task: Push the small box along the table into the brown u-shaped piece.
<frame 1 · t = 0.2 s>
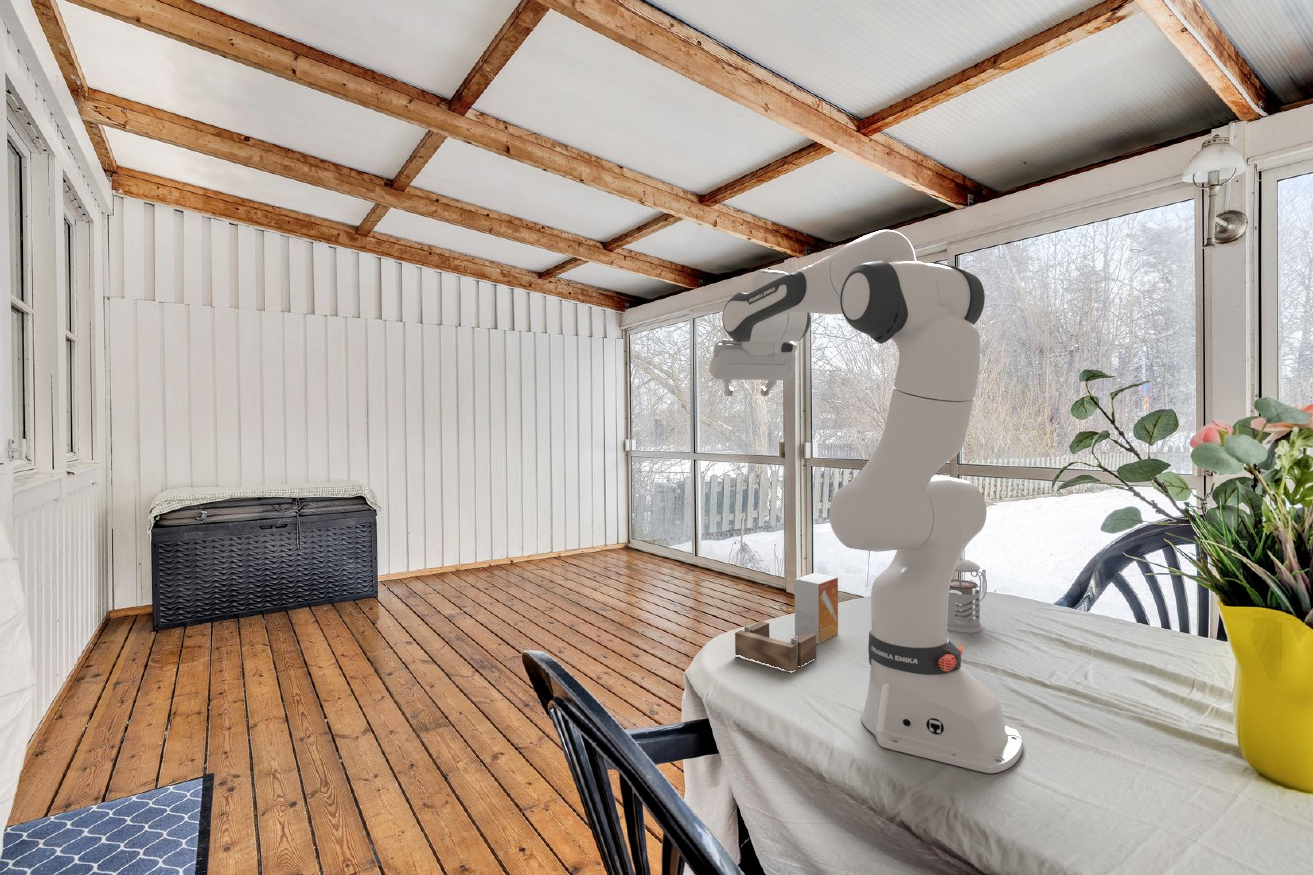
hand: (746, 395, 152), 54 cm above the table, tool tilted 30°, fingers open, 8 cm apart
brown u-shaped piece: (780, 655, 130), on the table
small box: (816, 637, 141), on the table
french press: (963, 625, 147), on the table
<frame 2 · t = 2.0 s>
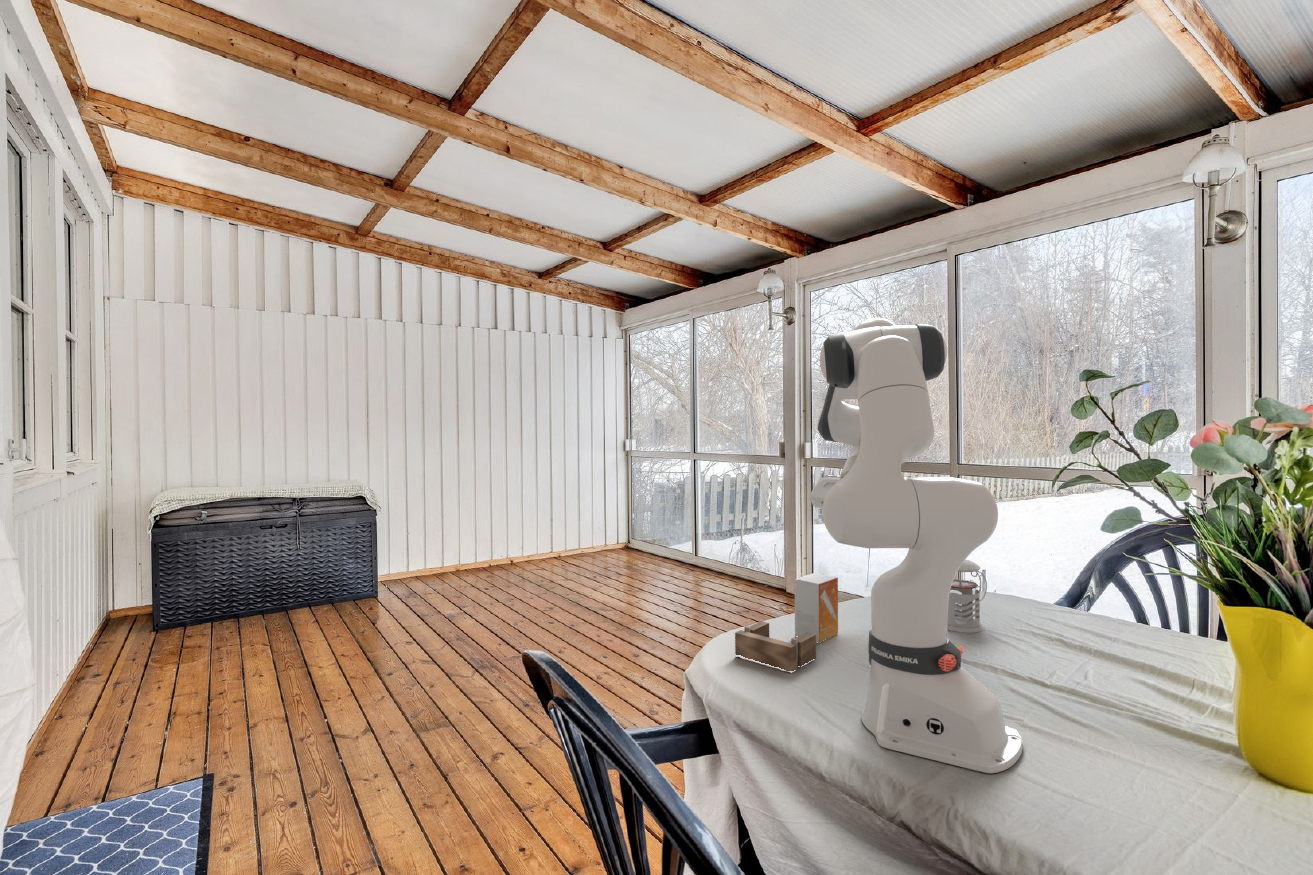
hand: (841, 522, 149), 24 cm above the table, tool tilted 45°, fingers open, 7 cm apart
nothing on the table moved.
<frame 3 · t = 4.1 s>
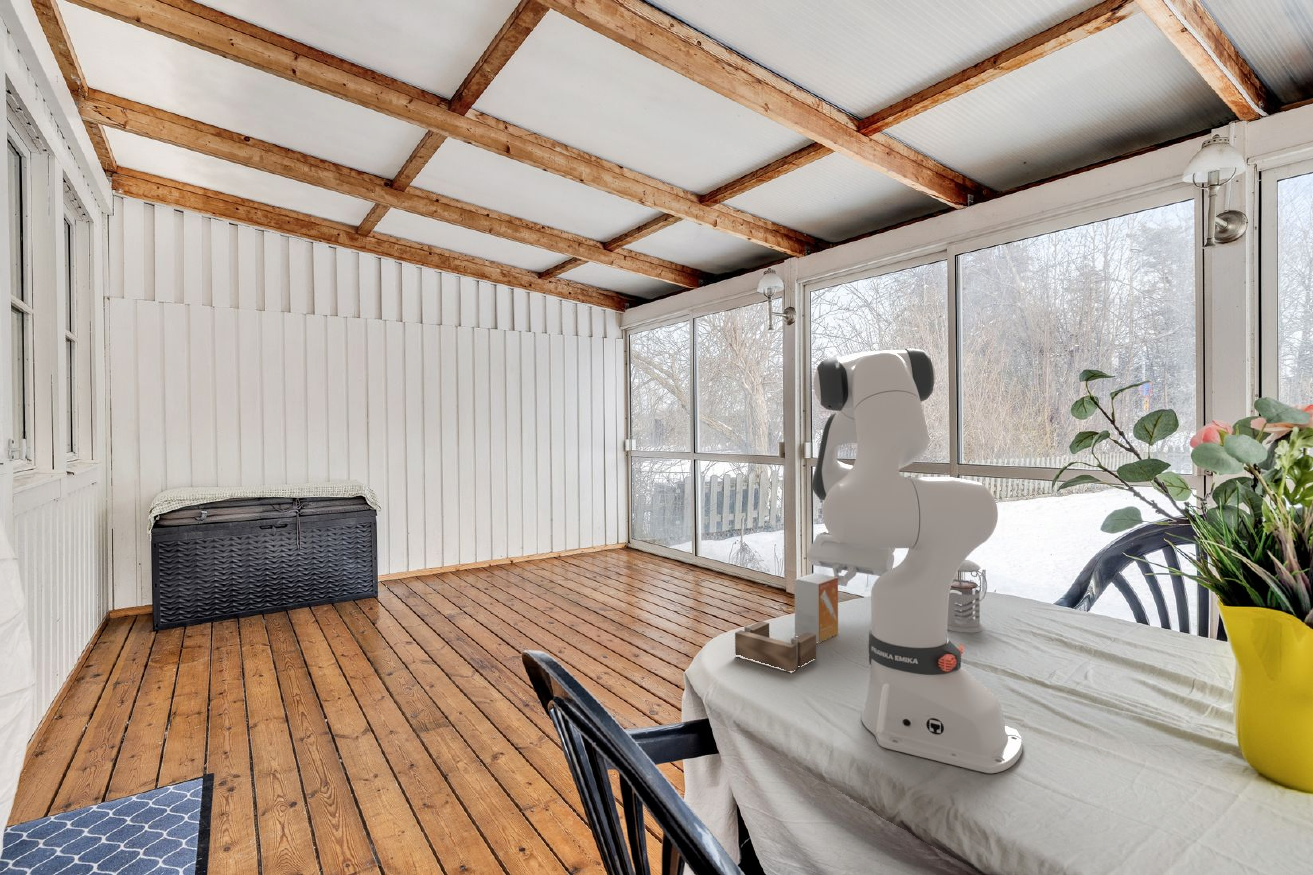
hand: (838, 584, 149), 9 cm above the table, tool tilted 45°, fingers closed
nothing on the table moved.
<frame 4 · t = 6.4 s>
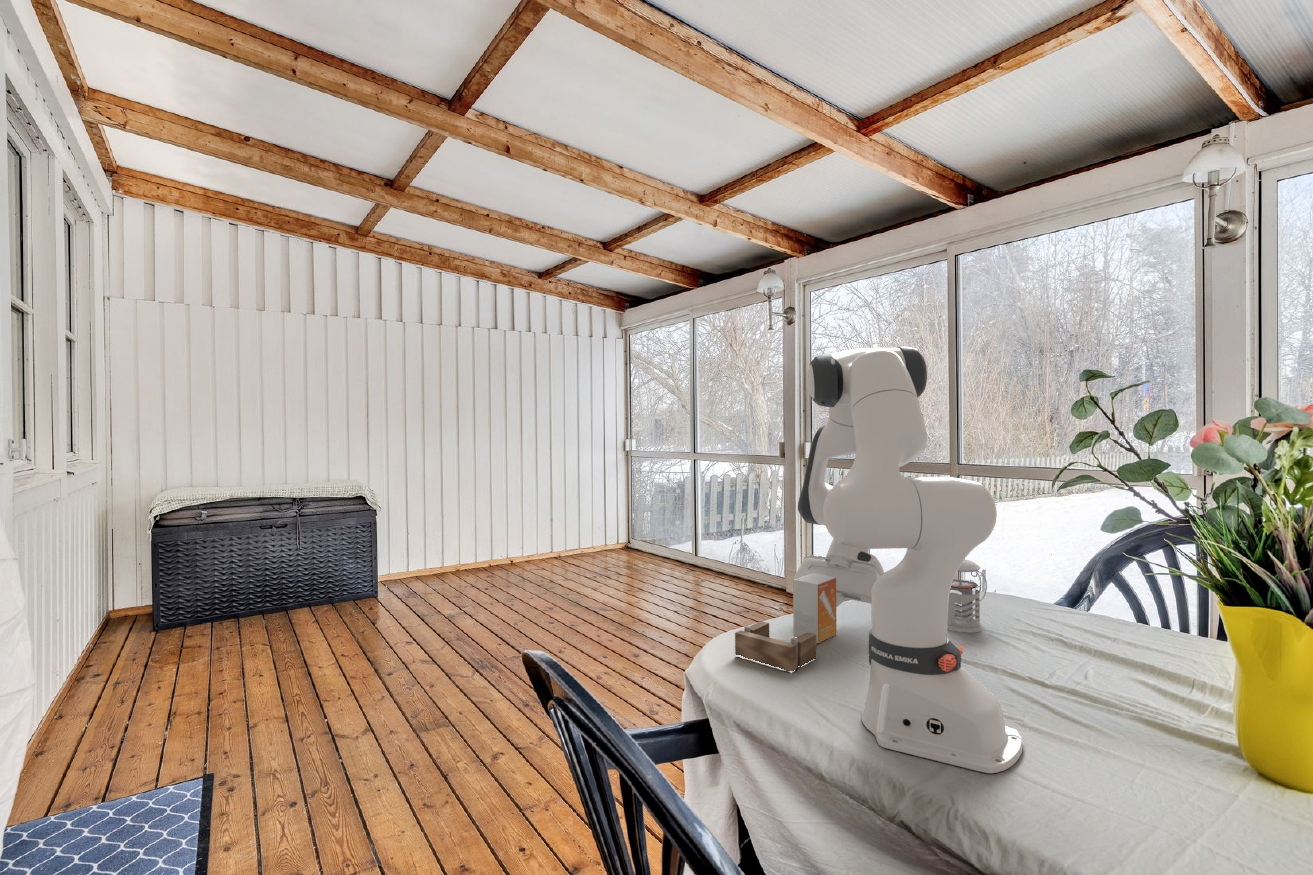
hand: (825, 610, 144), 5 cm above the table, tool tilted 45°, fingers closed, pressing on small box
small box: (815, 637, 141), on the table, touching gripper
everything else where it was.
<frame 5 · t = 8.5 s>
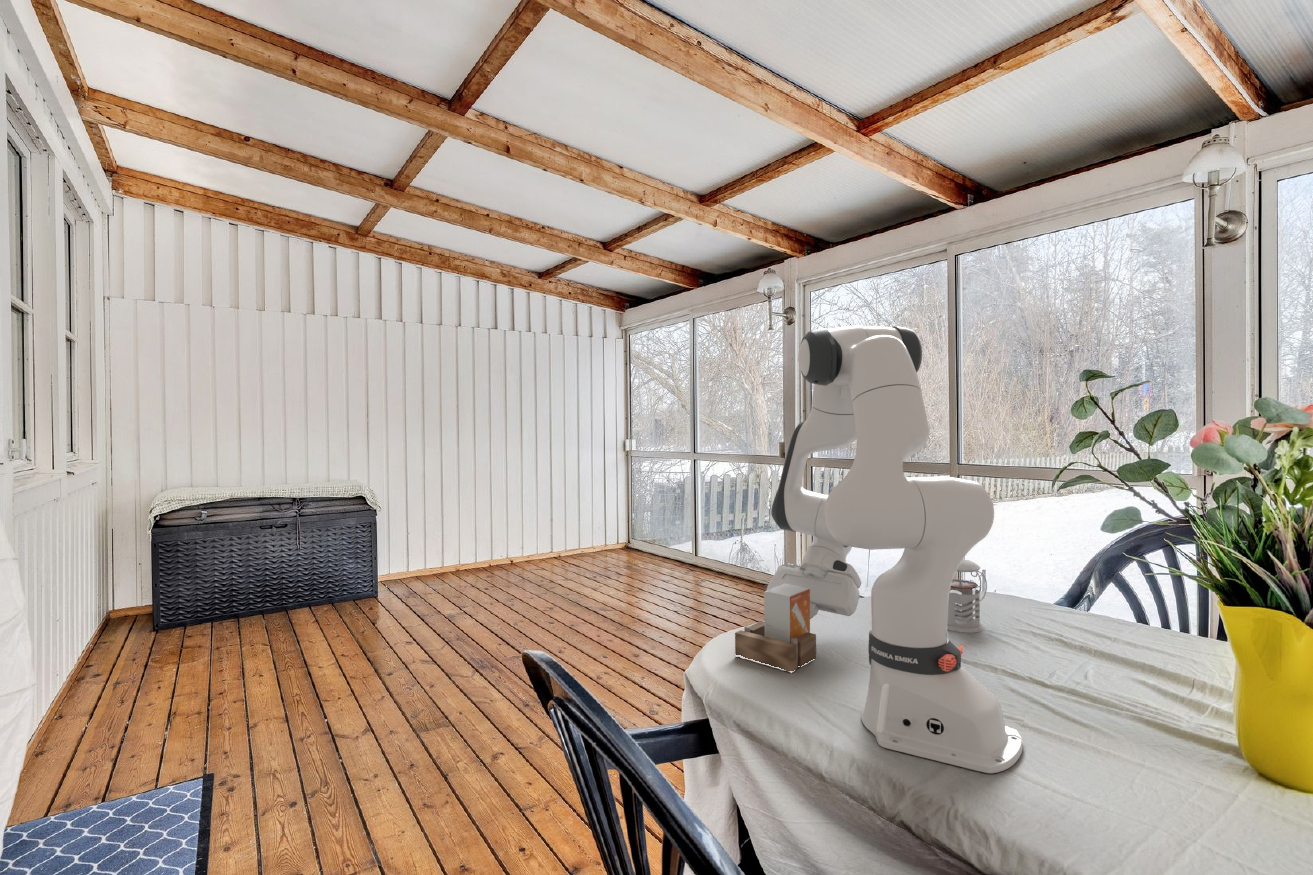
hand: (799, 623, 135), 5 cm above the table, tool tilted 45°, fingers closed, pressing on small box
small box: (787, 652, 132), on the table, touching gripper
everything else where it was.
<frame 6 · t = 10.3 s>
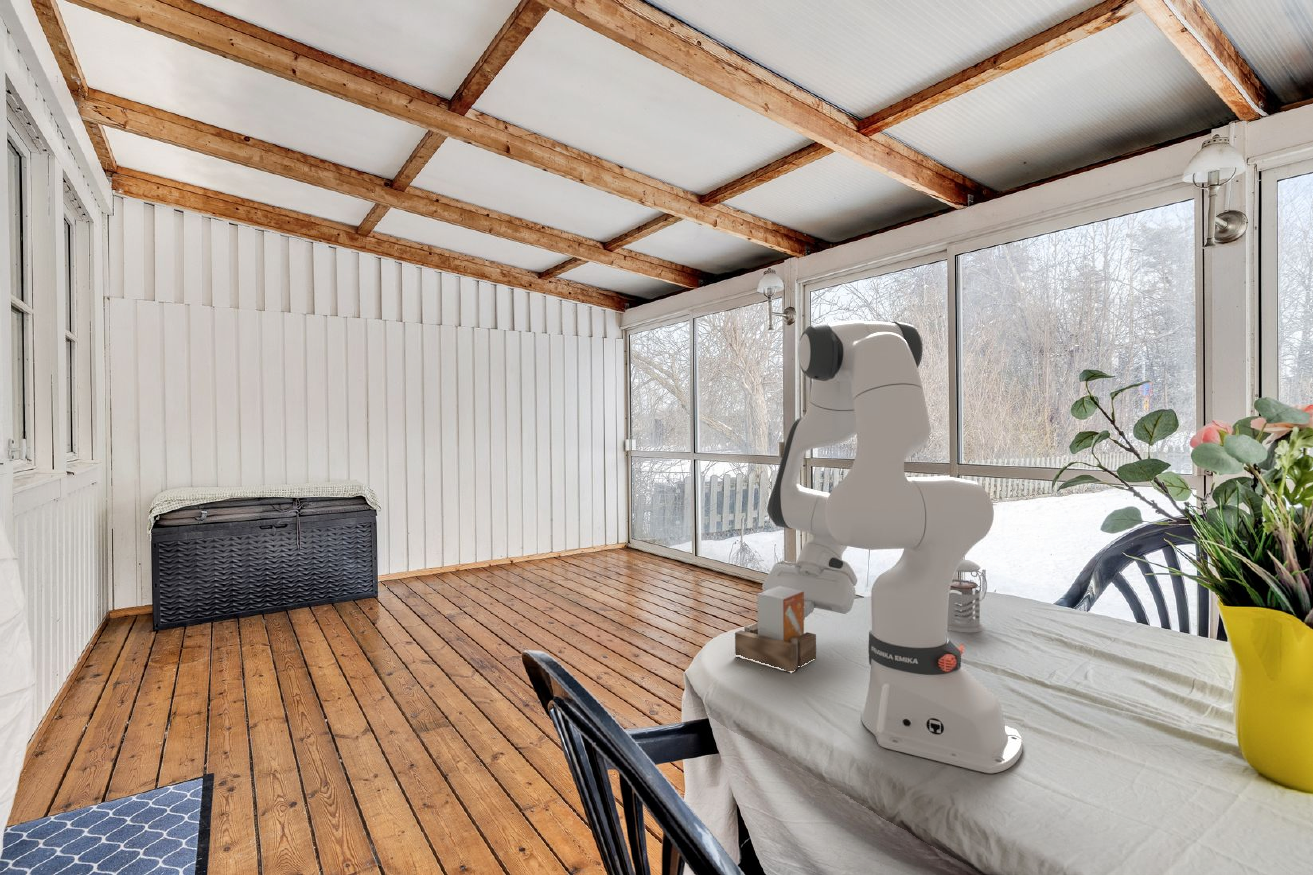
hand: (794, 621, 134), 6 cm above the table, tool tilted 45°, fingers closed
small box: (781, 655, 131), on the table
everything else where it was.
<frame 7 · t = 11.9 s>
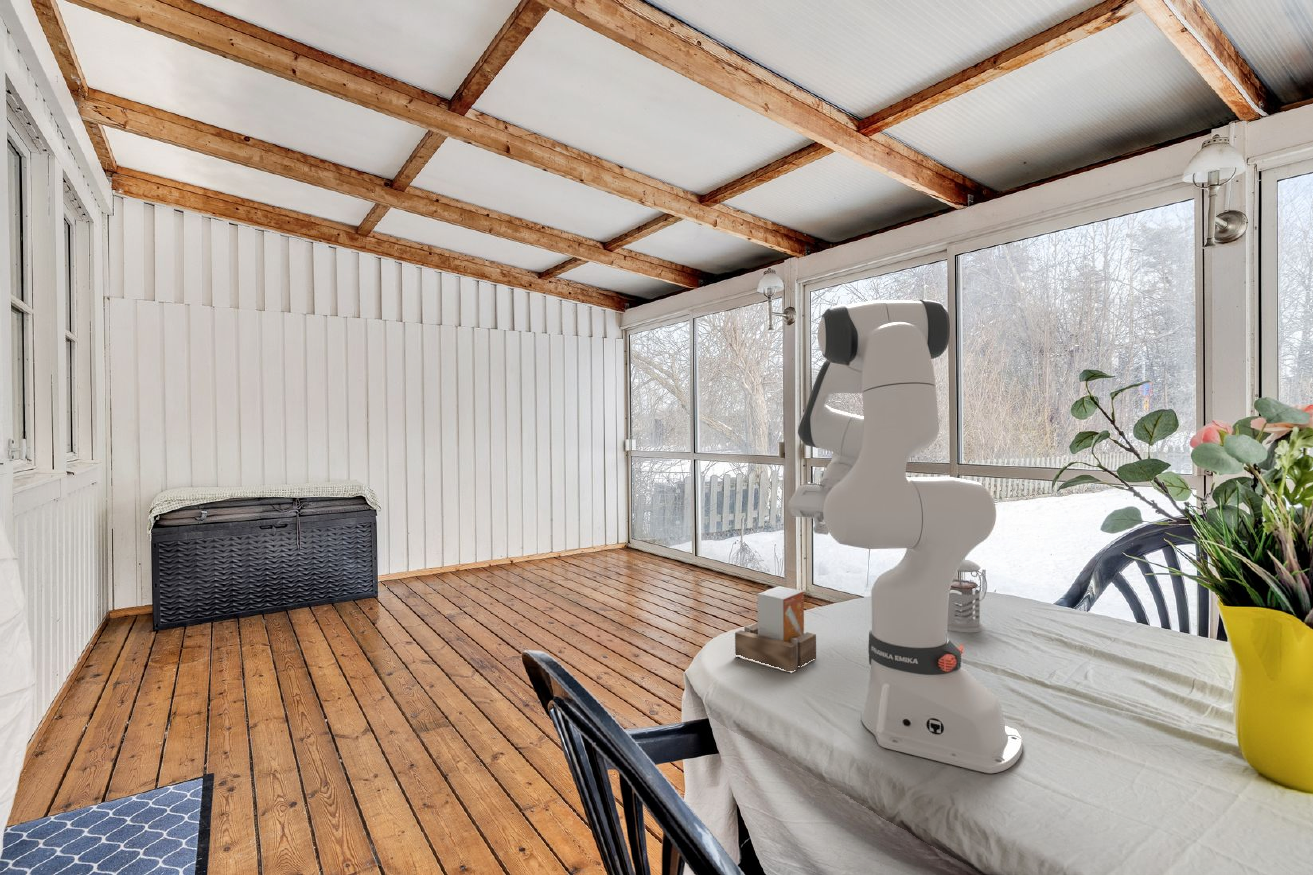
hand: (820, 532, 142), 23 cm above the table, tool tilted 45°, fingers closed
nothing on the table moved.
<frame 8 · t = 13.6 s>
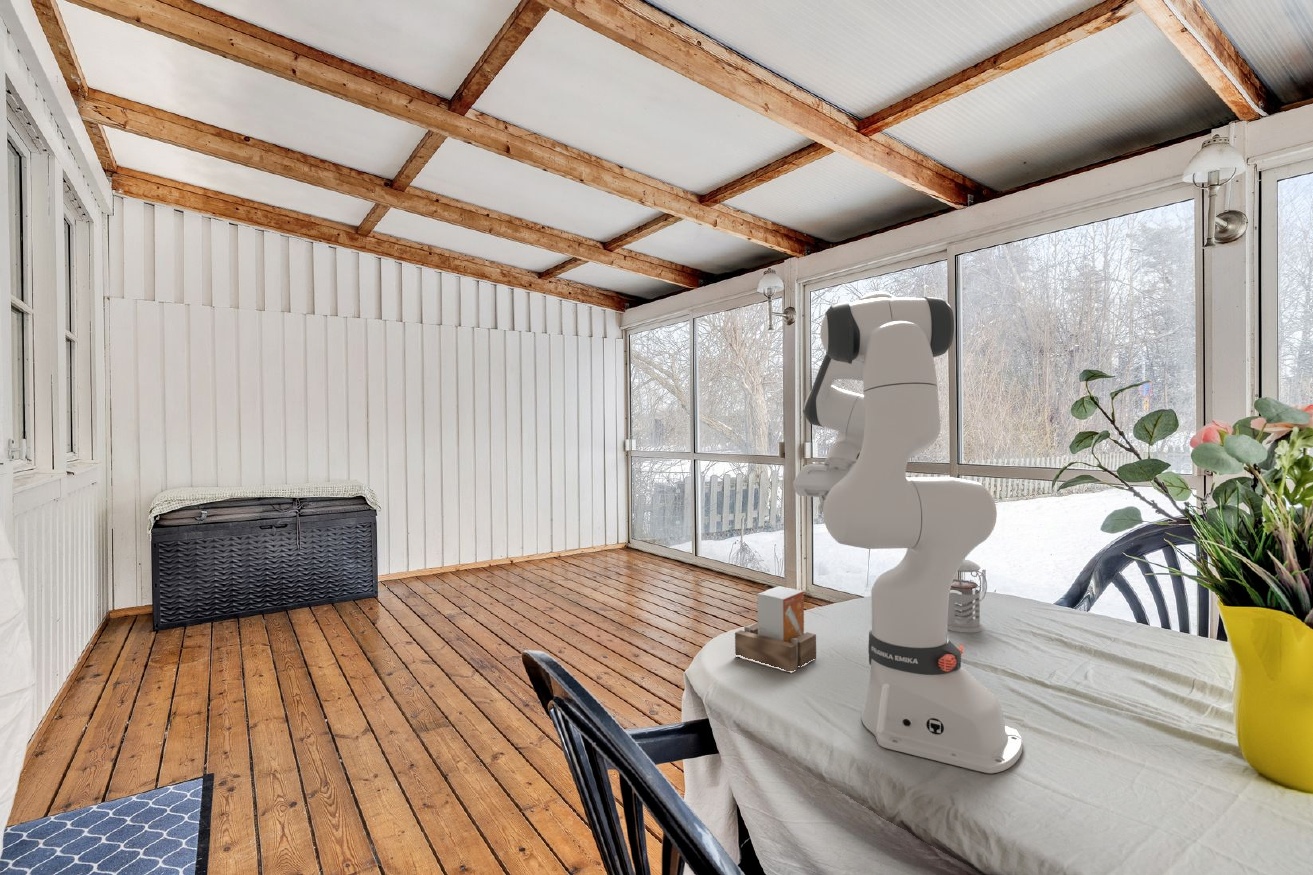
hand: (824, 510, 143), 27 cm above the table, tool tilted 45°, fingers closed
nothing on the table moved.
at the end: small box 0.2 cm off-centre on the brown u-shaped piece, point 0.0 cm above the brown u-shaped piece's base; small box tilted 0°; the gripper is holding nothing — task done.
